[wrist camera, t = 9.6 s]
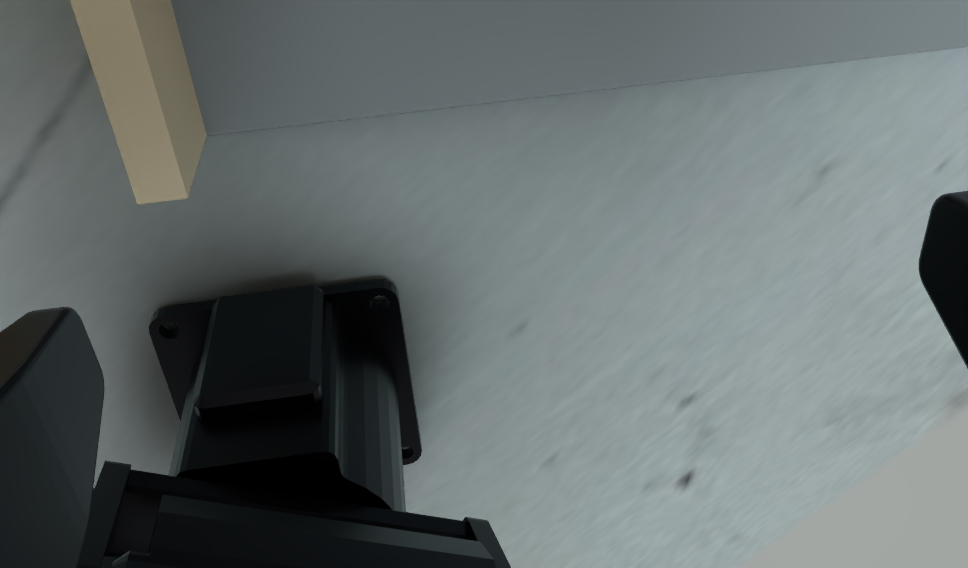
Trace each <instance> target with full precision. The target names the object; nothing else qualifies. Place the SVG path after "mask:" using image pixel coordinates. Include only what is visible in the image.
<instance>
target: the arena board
mask: <svg viewBox="0 0 968 568" xmlns="http://www.w3.org/2000/svg"><path fill="white" fill-rule="evenodd" d="M70 2H71V5H72V8H73V11H74V14H75V17H76V20H77V23H78V26H79V29H80V33H81V36H82V39H83V42H84V45H85V48H86V51H87V54H88V57H89V60H90V63H91V66H92V69H93V72H94V75H95V78H96V81H97V84H98V87H99V90H100V93H101V96H102V99H103V102H104V105H105V108H106V111H107V114H108V117H109V120H110V123H111V126H112V129H113V132H114V135H115V138H116V141H117V144H118V147H119V150H120V153H121V156H122V159H123V162H124V166H125V169H126V172H127V175H128V178H129V181H130V184H131V187H132V190H133V193H134V196H135V199H136V202H137V205H140V204H148V203H156V202H164V201H173V200H181V199H188V197H189V193H190V190H191V187H192V184H193V180H194V177H195V174H196V170H197V167H198V164H199V161H200V157H201V154H202V151H203V148H204V144H205V141H206V138H207V136H212V135H220V134H229V133H237V132H246V131H254V130H263V129H271V128H280V127H288V126H297V125H306V124H314V123H323V122H331V121H340V120H348V119H357V118H365V117H374V116H382V115H391V114H399V113H408V112H416V111H425V110H434V109H442V108H451V107H459V106H468V105H476V104H485V103H493V102H502V101H510V100H519V99H527V98H536V97H544V96H553V95H562V94H570V93H579V92H587V91H596V90H604V89H613V88H621V87H630V86H638V85H647V84H655V83H664V82H672V81H681V80H690V79H698V78H707V77H715V76H724V75H732V74H741V73H749V72H758V71H766V70H775V69H783V68H792V67H800V66H809V65H817V64H826V63H835V62H843V61H852V60H860V59H869V58H877V57H886V56H894V55H903V54H911V53H920V52H928V51H937V50H945V49H954V48H963V47H968V0H70Z"/></svg>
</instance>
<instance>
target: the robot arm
mask: <svg viewBox="0 0 968 568" xmlns="http://www.w3.org/2000/svg"><path fill="white" fill-rule="evenodd" d="M919 273H920V277H921V281H922V283H923V285H924V287H925V289H926V291H927V293H928V295H929V297H930V299H931V300H932V302H933V304H934V306H935V308H936V310H937V312H938V314H939V315H940V317H941V319H942V321H943V323H944V325H945V327H946V329H947V331H948V332H949V334H950V336H951V338H952V340H953V342H954V344H955V346H956V347H957V349H958V351H959V353H960V355H961V357H962V359H963V361H964V363H965V364H966V366H967V368H968V191H964V192H956V193H948V194H944V195H942V196H940V197H939V198H938V199H936V201H935V202H934V204H933V206H932V209H931V212H930V216H929V220H928V225H927V229H926V233H925V237H924V241H923V245H922V249H921V254H920V258H919ZM378 295H379V296H385V297H386V298H388V299H387V300H386V301H384V302H382V303H378V302H374V301H373V300H372V299H373V298H374V297H376V296H378ZM165 323H172V324H174V325H176V326H177V327H178V329H175V330H171V329H167V328H165V327H164V326H163V325H162V324H165ZM149 333H150V336H151V339H152V342H153V345H154V347H155V350H156V353H157V356H158V359H159V361H160V364H161V367H162V370H163V373H164V376H165V378H166V381H167V384H168V387H169V390H170V392H171V395H172V398H173V401H174V404H175V407H176V409H177V412H178V415H179V418H180V421H181V422H180V426H179V431H178V435H177V440H176V444H175V449H174V453H173V457H172V462H171V466H170V471H169V475H162V474H156V473H149V472H143V471H136V470H130V469H131V465H130V464H123V463H117V462H111V461H105V463H104V465H103V468H102V471H101V473H100V476H99V479H98V481H97V484H96V487H95V488H93V484H94V475H95V467H96V458H97V450H98V441H99V433H100V425H101V416H102V408H103V399H104V378H103V374H102V370H101V367H100V365H99V362H98V360H97V357H96V355H95V352H94V350H93V347H92V345H91V342H90V340H89V337H88V335H87V332H86V330H85V327H84V325H83V322H82V320H81V318H80V316H79V315H78V314H77V312H76V311H75V310H73V309H72V308H69V307H60V308H52V309H44V310H36V311H32V312H29V313H27V314H25V315H24V316H22V317H21V318H20V319H18V320H17V321H15V322H14V323H13V324H11V325H10V326H8V327H7V328H6V329H4V330H3V331H1V332H0V568H511V567H510V565H509V563H508V561H507V559H506V557H505V554H504V552H503V550H502V548H501V546H500V544H499V542H498V540H497V538H496V536H495V534H494V532H493V530H492V528H491V526H490V524H489V522H488V521H487V520H482V519H475V518H469V517H465V518H464V520H463V521H459V520H453V519H446V518H440V517H434V516H427V515H421V514H414V513H408V512H406V506H405V492H404V478H403V465H407V464H410V463H413V462H415V461H416V460H418V459H419V457H420V456H421V452H422V449H421V439H420V433H419V426H418V420H417V413H416V407H415V400H414V393H413V387H412V380H411V374H410V367H409V361H408V354H407V348H406V341H405V334H404V328H403V321H402V315H401V308H400V302H399V295H398V291H397V289H396V287H395V286H394V285H393V284H392V283H391V282H389V281H386V280H369V281H361V282H354V283H346V284H338V285H330V286H322V287H315V286H303V287H295V288H287V289H279V290H272V291H264V292H256V293H248V294H241V295H233V296H225V297H221V298H220V299H219V300H214V301H206V302H198V303H190V304H183V305H175V306H167V307H163V308H160V309H158V310H157V311H156V312H155V313H154V315H153V317H152V319H151V323H150V326H149ZM404 446H406V447H410V448H408V449H401V447H404Z"/></svg>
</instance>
